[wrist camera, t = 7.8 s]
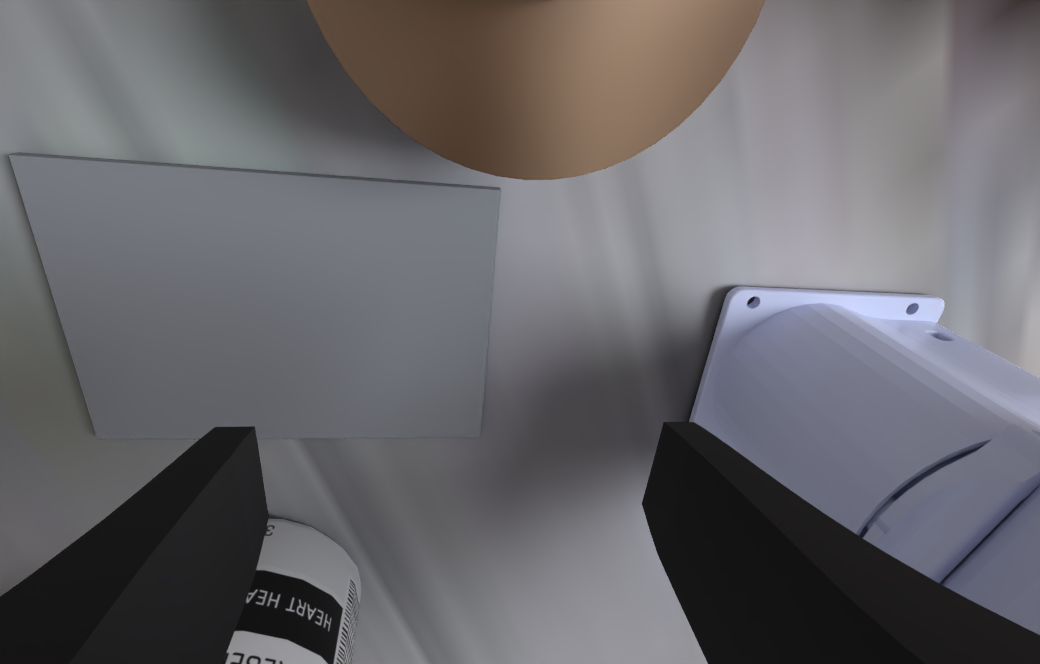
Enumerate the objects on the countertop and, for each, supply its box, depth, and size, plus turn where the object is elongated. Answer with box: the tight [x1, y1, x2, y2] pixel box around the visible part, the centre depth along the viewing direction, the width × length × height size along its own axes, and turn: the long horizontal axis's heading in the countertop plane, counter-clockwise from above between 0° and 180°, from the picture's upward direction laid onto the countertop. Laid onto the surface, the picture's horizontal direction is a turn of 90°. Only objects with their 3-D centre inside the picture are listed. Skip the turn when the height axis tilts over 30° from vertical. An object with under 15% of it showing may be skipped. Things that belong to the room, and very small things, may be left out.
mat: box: [9, 153, 501, 439], centre depth 19 cm, size 14×10×1 cm
